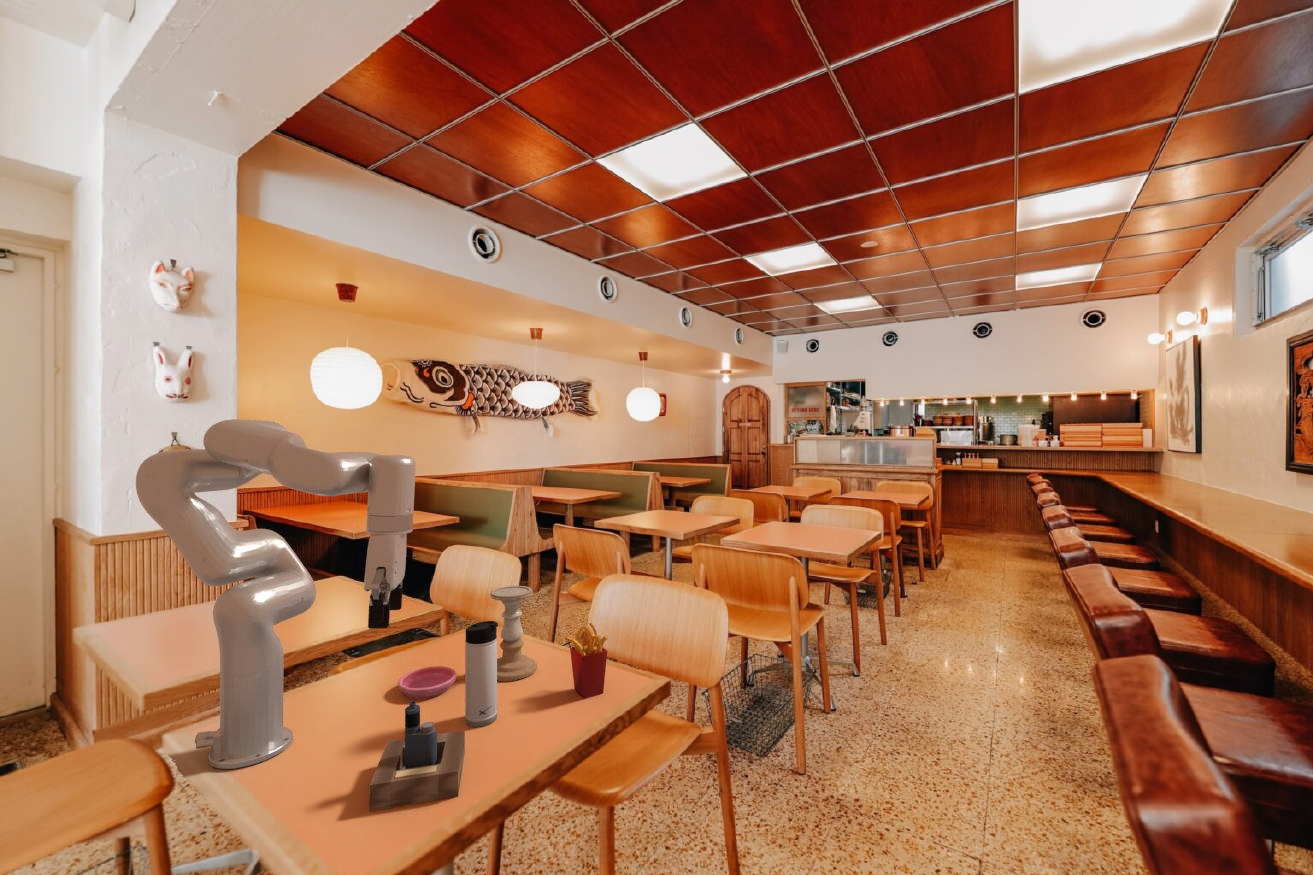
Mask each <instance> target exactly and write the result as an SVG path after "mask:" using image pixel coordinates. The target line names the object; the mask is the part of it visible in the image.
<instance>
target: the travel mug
mask: <svg viewBox="0 0 1313 875" xmlns="http://www.w3.org/2000/svg"><path fill="white" fill-rule="evenodd" d="M498 626H499V623H498V622H497V621H495V620H486V621H480V622H475V623H473V624H471V625H470V626H468V627H466V628H465V641H464V642H465V645H464V646H465V649H464V651H465V652H464V655H465V658H464V660H465V662H464V665H465V666H464V668H465V670H464V672H465V673H464V674H465V682H464V683H465V689H464V690H465V691H464V692H465V693H464V694H465V695H464V696H465V698H464V701H465V711H464V712H465V715H464V716H465V720H464V721H465V724H466V725H468V726H469V727H475V728H479V727H480V728H482V727H485V726H488V725H491V724H492V723H494V722H495V721H496V720H497V718H498V681H497V659H498V641H497V640H498V637H497V632H498V631H497V629H498V628H497V627H498Z"/></svg>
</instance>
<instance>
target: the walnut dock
mask: <svg viewBox="0 0 1313 875" xmlns="http://www.w3.org/2000/svg"><path fill="white" fill-rule="evenodd" d="M465 732H466V731H465V729H464V730H458V731H457V730H456V731H449V732H443V733H437V764H436V765H430V766H423V767H416V768H410V769H406V748H405V741H404V739H405V738H400V739H399V738H397V739H392V740H387V742H386V745H385V747H384V750H383V752H382V754H381V757H380V759H379V761H378V764H377V766H376V769H375V771H374V774H373V776H372V778H371V781H370V783H369V785H368V786H369V787H368V788H369V800H368V801H369V804H368V805H369V808H368V809H369V812H373V811H379V810H384V809H389V808H396V807H397V808H398V807H402V806H409V805H414V804H420V803H425V802H426V803H427V802H432V801H438V800H445V799H450V798H455V797H456V798H457V797H459V794H460V786H461V780H462V779H461V778H462V773H463V766H464V760H465V754H466V752H465V751H466V748H465V746H466V745H465V744H466V738H465V737H466V736H465V735H466V733H465Z"/></svg>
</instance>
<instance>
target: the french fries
mask: <svg viewBox="0 0 1313 875" xmlns="http://www.w3.org/2000/svg"><path fill="white" fill-rule="evenodd" d="M588 625H589V626H587V627H586V626H584V625H583V627H580V628H579V630H578V632H575V633H574V637H575V638H573V637H570V636H569V635H567V636H566V637H565V641H567V642H570V643H572V645H574V646H573V647H569V650H570V652H569V653H570V661H571V668H572V679H573V688H574V692H575V693H576V694H577V695H579V696H580V697H581V698H582V699H583V700H586V699H590V698H591V697H595V696H599V695H603V694H604V688H605V681H606V680H605V679H606V671H607V670H606V667H607V660H608V649H606V648H605V647H603V645H604V644H605V642H606V641H607V640H608V639H609V636H608V635H604V636H603V637H602V638H601V635H599V634H598V631H597V629H596V627H595V625H594V624H593V622H590V623H588ZM590 627H591V628H590ZM591 629H592V630H591Z"/></svg>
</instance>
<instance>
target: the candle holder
mask: <svg viewBox="0 0 1313 875" xmlns="http://www.w3.org/2000/svg"><path fill="white" fill-rule="evenodd" d="M533 594H534V589H533V588H532V587H530V586H525V585H510V586H509V585H508V586H501V587H498V588H495V589H493V590H491V591H490V594H489V595H490V598H491V599H492V600H495V601H501V603H502V605H503V606H504V611H503V612H502V613H501V617H502V618H503V624H502V628H501V631H500V638H501V639H502V641H501V642H500V644H499V647H500V649H501V650H502V656H500V657H497V680H498V681H497V682H513V681H512V680H515V681H517V680H516V679H520V680H522V679H521V678H523V679H526V678H529V677H530V676H532V675H534V674H535V673H536V671H537V668H538V665H537V664H538V663H537V661H536V660H535V659H533V658H531V657H529V656H527V655H525V654H522V647H523V646H524V644H525V643H524V640H523V639H522V637H523V634H524V629H523V627H522V623H521V618H520V617H521V616H522V615H523V612H522V610H521V609H520V603H522V602H523V600H524V599H527V598H529V597H531V596H532V595H533ZM531 674H532V675H531ZM525 677H526V678H525Z"/></svg>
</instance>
